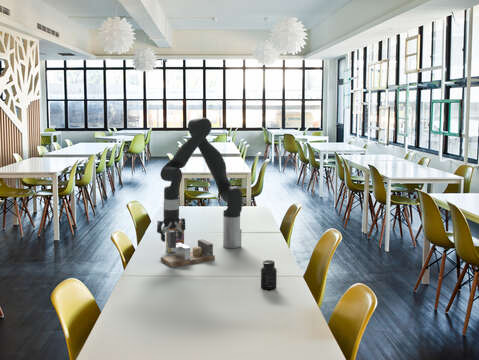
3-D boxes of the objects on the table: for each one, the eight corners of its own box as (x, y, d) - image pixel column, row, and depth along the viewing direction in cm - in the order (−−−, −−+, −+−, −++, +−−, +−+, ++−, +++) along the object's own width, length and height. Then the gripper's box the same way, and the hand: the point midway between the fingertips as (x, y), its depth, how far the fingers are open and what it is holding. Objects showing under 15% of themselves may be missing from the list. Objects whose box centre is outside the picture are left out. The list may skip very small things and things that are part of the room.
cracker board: (202, 253, 271) (202, 238, 270) (214, 259, 261) (214, 244, 260) (161, 261, 258) (160, 245, 256) (172, 267, 248) (171, 251, 246)
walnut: (198, 252, 265) (198, 246, 264) (203, 255, 261) (203, 248, 261) (191, 254, 262) (191, 247, 262) (195, 256, 259) (195, 249, 258)
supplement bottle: (259, 285, 226) (260, 259, 224) (275, 285, 226) (275, 259, 224) (261, 291, 219) (262, 264, 217) (277, 291, 219) (278, 264, 217)
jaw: (180, 253, 262) (180, 227, 260) (190, 259, 254) (190, 231, 252) (164, 256, 257) (164, 229, 255) (173, 262, 249) (173, 234, 247)
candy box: (169, 253, 271) (169, 224, 268) (165, 250, 274) (165, 223, 272) (184, 250, 276) (184, 222, 273) (180, 248, 279) (180, 221, 277)
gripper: (180, 204, 257) (180, 236, 259) (154, 207, 249) (154, 240, 252) (188, 207, 251) (187, 240, 253) (161, 210, 243) (161, 244, 245)
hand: (171, 240), depth 252 cm, fingers open, 8 cm apart
